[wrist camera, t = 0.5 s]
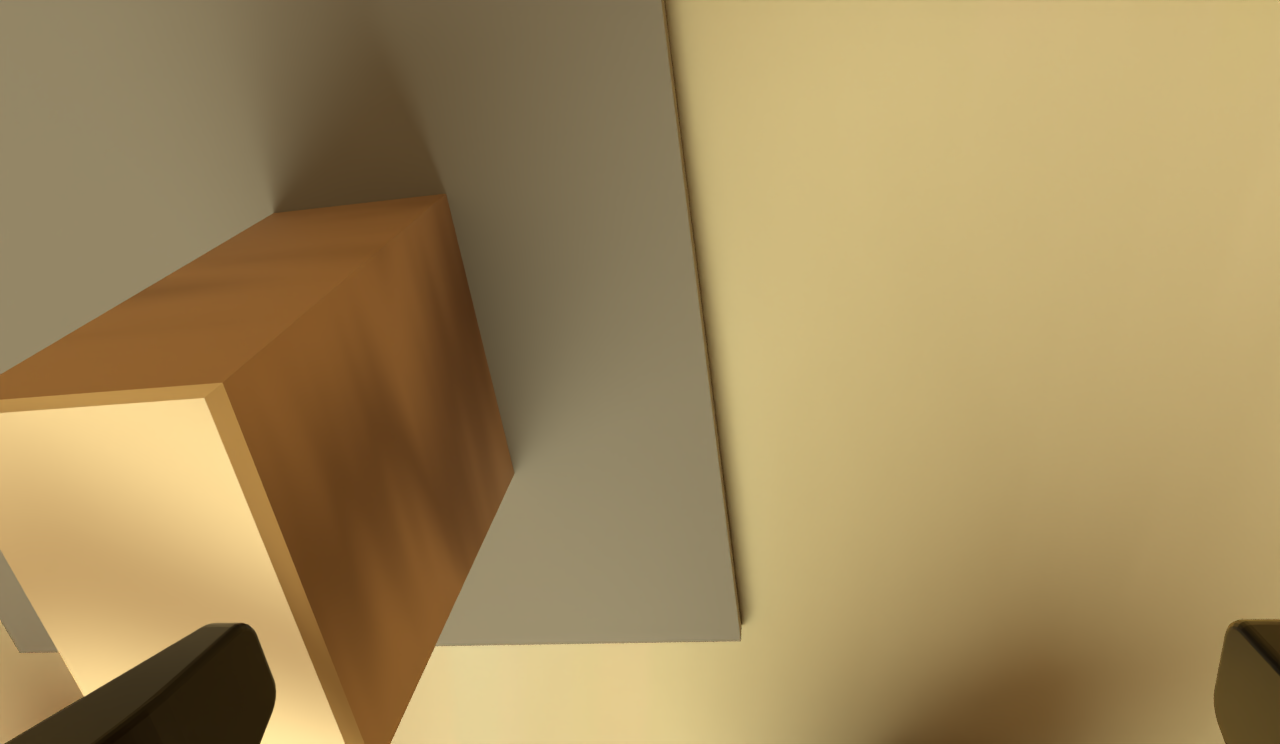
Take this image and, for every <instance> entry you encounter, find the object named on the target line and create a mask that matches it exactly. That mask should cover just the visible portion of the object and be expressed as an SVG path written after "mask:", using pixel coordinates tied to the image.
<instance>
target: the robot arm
mask: <svg viewBox="0 0 1280 744" xmlns="http://www.w3.org/2000/svg"><path fill="white" fill-rule="evenodd" d="M275 701H276V684H275V681H274V678H273V675H272V673H271V670H270V667H269V665H268V662H267V660H266V657H265V654H264V652H263V649H262V647H261V644H260V641H259V639H258V636H257V634H256V632H255V630H254V629H253V628H252V627H251V626H250V625H248V624H245V623H210V624H207V625H205V626H203V627H201V628H199V629H197V630H196V631H194V632H192V633H191V634H189V635H187V636H186V637H184V638H182V639H181V640H179V641H177V642H175V643H174V644H172V645H170V646H169V647H167V648H165V649H164V650H162V651H160V652H159V653H157V654H155V655H154V656H152V657H150V658H148V659H147V660H145V661H143V662H142V663H140V664H138V665H137V666H135V667H133V668H132V669H130V670H128V671H127V672H125V673H123V674H121V675H120V676H118V677H116V678H115V679H113V680H111V681H110V682H108V683H106V684H105V685H103V686H101V687H99V688H98V689H96V690H94V691H93V692H91V693H89V694H88V695H86V696H84V697H83V698H81V699H79V700H78V701H76V702H74V703H72V704H71V705H69V706H67V707H66V708H64V709H62V710H61V711H59V712H57V713H56V714H54V715H52V716H51V717H49V718H47V719H45V720H44V721H42V722H40V723H39V724H37V725H35V726H34V727H32V728H30V729H29V730H27V731H25V732H24V733H22V734H20V735H18V736H17V737H15V738H13V739H12V740H10V741H8V742H7V743H5V744H260V743H261V741H262V738H263V736H264V733H265V730H266V728H267V725H268V723H269V720H270V718H271V715H272V712H273V709H274V706H275ZM1214 707H1215V714H1216V718H1217V722H1218V725H1219V727H1220V730H1221V733H1222V735H1223V738H1224V741H1225V743H1226V744H1280V619H1242V620H1237V621H1235V622H1233V623H1231V624H1230V625H1229V627H1228V628H1227V631H1226V634H1225V638H1224V643H1223V648H1222V653H1221V659H1220V664H1219V669H1218V674H1217V680H1216V685H1215V690H1214Z"/></svg>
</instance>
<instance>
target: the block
mask: <svg viewBox="0 0 1280 744" xmlns="http://www.w3.org/2000/svg"><path fill="white" fill-rule="evenodd" d="M513 476H514V470H513V465H512V461H511V457H510V453H509V449H508V445H507V441H506V437H505V433H504V429H503V424H502V420H501V416H500V412H499V408H498V404H497V400H496V396H495V392H494V388H493V384H492V379H491V375H490V371H489V367H488V363H487V359H486V355H485V351H484V347H483V343H482V338H481V334H480V330H479V326H478V322H477V318H476V314H475V310H474V306H473V302H472V298H471V293H470V289H469V285H468V281H467V277H466V273H465V269H464V265H463V261H462V257H461V252H460V248H459V244H458V240H457V236H456V232H455V228H454V224H453V220H452V216H451V211H450V207H449V203H448V199H447V195H446V194H438V195H429V196H421V197H412V198H403V199H394V200H385V201H377V202H368V203H359V204H350V205H341V206H333V207H324V208H315V209H306V210H298V211H289V212H280V213H273V214H271V215H270V216H268V217H266V218H264V219H263V220H261V221H259V222H258V223H256V224H254V225H253V226H251V227H249V228H248V229H246V230H244V231H242V232H241V233H239V234H237V235H236V236H234V237H232V238H231V239H229V240H227V241H226V242H224V243H222V244H220V245H219V246H217V247H215V248H214V249H212V250H210V251H209V252H207V253H205V254H204V255H202V256H200V257H198V258H197V259H195V260H193V261H192V262H190V263H188V264H187V265H185V266H183V267H181V268H180V269H178V270H176V271H175V272H173V273H171V274H170V275H168V276H166V277H165V278H163V279H161V280H159V281H158V282H156V283H154V284H153V285H151V286H149V287H148V288H146V289H144V290H143V291H141V292H139V293H137V294H136V295H134V296H132V297H131V298H129V299H127V300H126V301H124V302H122V303H121V304H119V305H117V306H115V307H114V308H112V309H110V310H109V311H107V312H105V313H104V314H102V315H100V316H99V317H97V318H95V319H93V320H92V321H90V322H88V323H87V324H85V325H83V326H82V327H80V328H78V329H77V330H75V331H73V332H71V333H70V334H68V335H66V336H65V337H63V338H61V339H60V340H58V341H56V342H55V343H53V344H51V345H49V346H48V347H46V348H44V349H43V350H41V351H39V352H38V353H36V354H34V355H32V356H31V357H29V358H27V359H26V360H24V361H22V362H21V363H19V364H17V365H16V366H14V367H12V368H10V369H9V370H7V371H5V372H4V373H2V374H0V550H1V551H2V553H3V555H4V557H5V559H6V560H7V562H8V564H9V566H10V567H11V569H12V571H13V573H14V574H15V576H16V578H17V580H18V581H19V583H20V585H21V587H22V588H23V590H24V592H25V594H26V595H27V597H28V599H29V601H30V602H31V604H32V606H33V608H34V610H35V611H36V613H37V615H38V617H39V618H40V620H41V622H42V624H43V625H44V627H45V629H46V631H47V632H48V634H49V636H50V638H51V639H52V641H53V643H54V645H55V646H56V648H57V650H58V652H59V653H60V655H61V657H62V659H63V660H64V662H65V664H66V666H67V668H68V669H69V671H70V673H71V675H72V676H73V678H74V680H75V682H76V683H77V685H78V687H79V689H80V690H81V692H82V694H83V696H86V695H88V694H89V693H91V692H93V691H94V690H96V689H98V688H99V687H101V686H103V685H105V684H106V683H108V682H110V681H111V680H113V679H115V678H116V677H118V676H120V675H121V674H123V673H125V672H127V671H128V670H130V669H132V668H133V667H135V666H137V665H138V664H140V663H142V662H143V661H145V660H147V659H148V658H150V657H152V656H154V655H155V654H157V653H159V652H160V651H162V650H164V649H165V648H167V647H169V646H170V645H172V644H174V643H175V642H177V641H179V640H181V639H182V638H184V637H186V636H187V635H189V634H191V633H192V632H194V631H196V630H197V629H199V628H201V627H203V626H205V625H207V624H210V623H245V624H248V625H250V626H251V627H252V628H253V629H254V630H255V632H256V634H257V636H258V639H259V641H260V644H261V647H262V649H263V652H264V654H265V657H266V660H267V662H268V665H269V667H270V670H271V673H272V675H273V678H274V681H275V684H276V701H275V706H274V709H273V712H272V715H271V718H270V720H269V723H268V725H267V728H266V730H265V733H264V736H263V738H262V741H261V743H260V744H390V743H391V741H392V739H393V736H394V734H395V732H396V730H397V728H398V726H399V723H400V721H401V719H402V717H403V715H404V713H405V710H406V708H407V706H408V704H409V702H410V700H411V697H412V695H413V693H414V691H415V689H416V687H417V684H418V682H419V680H420V678H421V676H422V673H423V671H424V669H425V667H426V665H427V663H428V660H429V658H430V656H431V654H432V652H433V650H434V647H435V645H436V643H437V641H438V639H439V637H440V634H441V632H442V630H443V628H444V626H445V624H446V621H447V619H448V617H449V615H450V613H451V611H452V608H453V606H454V604H455V602H456V600H457V597H458V595H459V593H460V591H461V589H462V587H463V584H464V582H465V580H466V578H467V576H468V574H469V571H470V569H471V567H472V565H473V563H474V561H475V558H476V556H477V554H478V552H479V550H480V548H481V545H482V543H483V541H484V539H485V537H486V535H487V532H488V530H489V528H490V526H491V524H492V522H493V519H494V517H495V515H496V513H497V511H498V508H499V506H500V504H501V502H502V500H503V498H504V495H505V493H506V491H507V489H508V487H509V485H510V482H511V480H512V478H513Z"/></svg>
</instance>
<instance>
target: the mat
mask: <svg viewBox="0 0 1280 744" xmlns="http://www.w3.org/2000/svg"><path fill="white" fill-rule="evenodd" d="M438 194H446V195H447V199H448V203H449V207H450V211H451V216H452V220H453V224H454V228H455V232H456V236H457V240H458V244H459V248H460V252H461V257H462V261H463V265H464V269H465V273H466V277H467V281H468V285H469V289H470V293H471V298H472V302H473V306H474V310H475V314H476V318H477V322H478V326H479V330H480V334H481V338H482V343H483V347H484V351H485V355H486V359H487V363H488V367H489V371H490V375H491V379H492V384H493V388H494V392H495V396H496V400H497V404H498V408H499V412H500V416H501V420H502V424H503V429H504V433H505V437H506V441H507V445H508V449H509V453H510V457H511V461H512V465H513V470H514V476H513V478H512V480H511V482H510V485H509V487H508V489H507V491H506V493H505V495H504V498H503V500H502V502H501V504H500V506H499V508H498V511H497V513H496V515H495V517H494V519H493V522H492V524H491V526H490V528H489V530H488V532H487V535H486V537H485V539H484V541H483V543H482V545H481V548H480V550H479V552H478V554H477V556H476V558H475V561H474V563H473V565H472V567H471V569H470V571H469V574H468V576H467V578H466V580H465V582H464V584H463V587H462V589H461V591H460V593H459V595H458V597H457V600H456V602H455V604H454V606H453V608H452V611H451V613H450V615H449V617H448V619H447V621H446V624H445V626H444V628H443V630H442V632H441V634H440V637H439V639H438V641H437V643H436V645H435V646H471V645H533V644H594V643H656V642H717V641H741V620H740V612H739V604H738V596H737V588H736V580H735V572H734V563H733V555H732V547H731V539H730V531H729V523H728V515H727V506H726V498H725V490H724V482H723V474H722V466H721V458H720V450H719V441H718V433H717V425H716V417H715V409H714V401H713V393H712V384H711V376H710V368H709V360H708V352H707V344H706V336H705V328H704V319H703V311H702V303H701V295H700V287H699V279H698V271H697V262H696V254H695V246H694V238H693V230H692V222H691V214H690V206H689V197H688V189H687V181H686V173H685V165H684V157H683V149H682V140H681V132H680V124H679V116H678V108H677V100H676V92H675V84H674V75H673V67H672V59H671V51H670V43H669V35H668V27H667V19H666V10H665V2H664V0H0V374H2V373H4V372H5V371H7V370H9V369H10V368H12V367H14V366H16V365H17V364H19V363H21V362H22V361H24V360H26V359H27V358H29V357H31V356H32V355H34V354H36V353H38V352H39V351H41V350H43V349H44V348H46V347H48V346H49V345H51V344H53V343H55V342H56V341H58V340H60V339H61V338H63V337H65V336H66V335H68V334H70V333H71V332H73V331H75V330H77V329H78V328H80V327H82V326H83V325H85V324H87V323H88V322H90V321H92V320H93V319H95V318H97V317H99V316H100V315H102V314H104V313H105V312H107V311H109V310H110V309H112V308H114V307H115V306H117V305H119V304H121V303H122V302H124V301H126V300H127V299H129V298H131V297H132V296H134V295H136V294H137V293H139V292H141V291H143V290H144V289H146V288H148V287H149V286H151V285H153V284H154V283H156V282H158V281H159V280H161V279H163V278H165V277H166V276H168V275H170V274H171V273H173V272H175V271H176V270H178V269H180V268H181V267H183V266H185V265H187V264H188V263H190V262H192V261H193V260H195V259H197V258H198V257H200V256H202V255H204V254H205V253H207V252H209V251H210V250H212V249H214V248H215V247H217V246H219V245H220V244H222V243H224V242H226V241H227V240H229V239H231V238H232V237H234V236H236V235H237V234H239V233H241V232H242V231H244V230H246V229H248V228H249V227H251V226H253V225H254V224H256V223H258V222H259V221H261V220H263V219H264V218H266V217H268V216H270V215H271V214H273V213H280V212H289V211H298V210H306V209H315V208H324V207H333V206H341V205H350V204H359V203H368V202H377V201H385V200H394V199H403V198H412V197H421V196H429V195H438ZM0 620H1V622H2V624H3V625H4V627H5V629H6V630H7V632H8V634H9V635H10V637H11V639H12V640H13V642H14V644H15V646H16V647H17V649H18V651H19V652H20V653H40V652H58V650H57V648H56V646H55V645H54V643H53V641H52V639H51V638H50V636H49V634H48V632H47V631H46V629H45V627H44V625H43V624H42V622H41V620H40V618H39V617H38V615H37V613H36V611H35V610H34V608H33V606H32V604H31V602H30V601H29V599H28V597H27V595H26V594H25V592H24V590H23V588H22V587H21V585H20V583H19V581H18V580H17V578H16V576H15V574H14V573H13V571H12V569H11V567H10V566H9V564H8V562H7V560H6V559H5V557H4V555H3V553H2V551H1V550H0Z"/></svg>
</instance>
